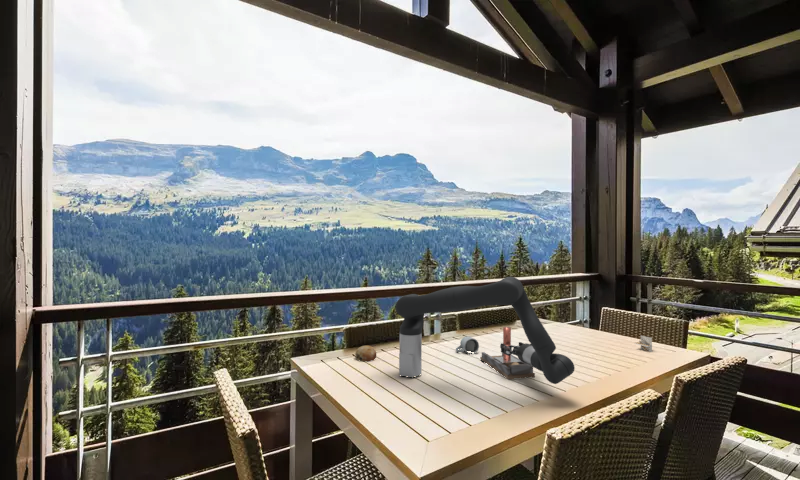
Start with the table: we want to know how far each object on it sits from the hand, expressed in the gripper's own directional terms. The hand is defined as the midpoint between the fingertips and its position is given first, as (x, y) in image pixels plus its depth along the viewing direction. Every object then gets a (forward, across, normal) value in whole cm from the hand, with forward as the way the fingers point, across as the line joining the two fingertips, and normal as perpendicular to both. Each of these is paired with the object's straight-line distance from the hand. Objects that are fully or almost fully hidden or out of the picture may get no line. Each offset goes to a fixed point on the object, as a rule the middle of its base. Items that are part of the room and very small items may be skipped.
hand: (510, 345), depth 168 cm
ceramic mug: (+31, +7, +11) cm, 33 cm away
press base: (+4, 0, +11) cm, 12 cm away
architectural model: (+12, -83, +12) cm, 85 cm away
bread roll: (+32, +57, +11) cm, 67 cm away
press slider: (+3, 0, +9) cm, 10 cm away
